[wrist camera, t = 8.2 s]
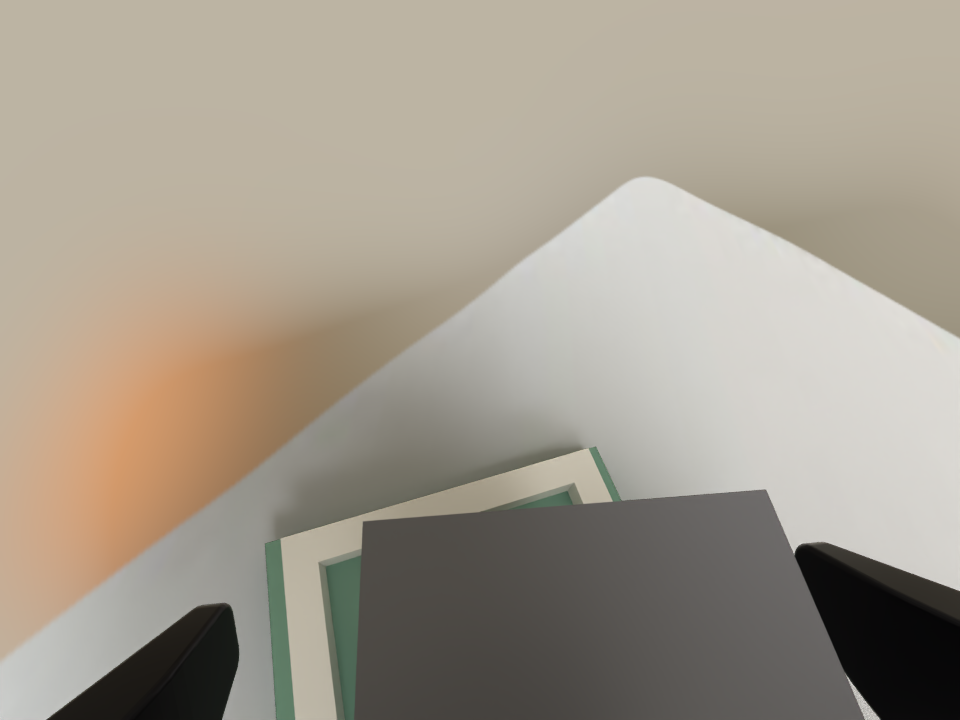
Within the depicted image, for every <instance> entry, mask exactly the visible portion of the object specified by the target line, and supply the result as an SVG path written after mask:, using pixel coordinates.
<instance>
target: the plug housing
mask: <svg viewBox="0 0 960 720" xmlns="http://www.w3.org/2000/svg"><path fill="white" fill-rule="evenodd" d="M354 720H865V719H864V716H863V714H862V712H861V710H860V707H859V705H858V703H857V700H856V698H855V696H854V693H853V691H852V689H851V686H850V684H849V682H848V679H847V677H846V675H845V672H844V670H843V668H842V665H841V663H840V661H839V658H838V656H837V654H836V651H835V649H834V647H833V644H832V642H831V640H830V637H829V635H828V633H827V630H826V628H825V626H824V623H823V621H822V619H821V616H820V614H819V612H818V610H817V607H816V605H815V603H814V600H813V598H812V596H811V593H810V591H809V589H808V586H807V584H806V582H805V579H804V577H803V575H802V572H801V570H800V568H799V565H798V563H797V561H796V558H795V556H794V554H793V551H792V549H791V547H790V544H789V542H788V540H787V537H786V535H785V533H784V530H783V528H782V526H781V523H780V521H779V519H778V516H777V514H776V512H775V510H774V507H773V505H772V503H771V500H770V498H769V496H768V493H767V491H766V490H754V491H741V492H729V493H716V494H703V495H691V496H678V497H665V498H653V499H640V500H627V501H614V502H602V503H589V504H576V505H564V506H551V507H538V508H526V509H513V510H500V511H487V512H475V513H462V514H449V515H437V516H424V517H411V518H399V519H386V520H373V521H363V527H362V550H361V572H360V595H359V618H358V641H357V664H356V687H355V709H354Z"/></svg>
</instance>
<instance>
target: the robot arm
mask: <svg viewBox="0 0 960 720" xmlns="http://www.w3.org/2000/svg"><path fill="white" fill-rule="evenodd" d="M794 556H795V558H796V561H797V563H798V565H799V568H800V570H801V572H802V575H803V577H804V579H805V582H806V584H807V586H808V589H809V591H810V593H811V596H812V598H813V600H814V603H815V605H816V607H817V610H818V612H819V614H820V616H821V619H822V621H823V623H824V626H825V628H826V630H827V633H828V635H829V637H830V640H831V642H832V644H833V647H834V649H835V651H836V654H837V656H838V658H839V661H840V663H841V665H842V668H843V670H844V672H845V674H846V675H847V676H848V678H849V679H850V681H851V682H852V683H853V685H854V686H855V687H856V689H857V690H858V691H859V693H860V694H861V696H862V697H863V698H864V700H865V701H866V702H867V703H868V705H869V706H870V707H871V708H872V710H873V711H874V712H875V713H876V715H877V716H878V717H879V718H880V720H960V591H958V590H955V589H952V588H950V587H947V586H944V585H941V584H939V583H936V582H933V581H930V580H928V579H925V578H922V577H919V576H917V575H914V574H911V573H909V572H906V571H903V570H900V569H898V568H895V567H892V566H889V565H887V564H884V563H881V562H878V561H876V560H873V559H870V558H867V557H865V556H862V555H859V554H857V553H854V552H851V551H848V550H846V549H843V548H840V547H837V546H835V545H832V544H829V543H825V542H815V543H806V544H801V545H799V546H798V547H797V549H796V551H795V555H794ZM238 662H239V645H238V639H237V633H236V627H235V621H234V616H233V611H232V608H231V606H230V605H229V604H227V603H218V604H208V605H201V606H198V607H196V608H194V609H193V610H192V611H190V612H189V613H188V614H186V615H185V616H184V617H182V618H181V619H180V620H178V621H177V622H176V623H174V624H173V625H172V626H170V627H169V628H168V629H166V630H165V631H164V632H162V633H161V634H160V635H158V636H157V637H156V638H154V639H153V640H152V641H150V642H149V643H148V644H146V645H145V646H144V647H142V648H141V649H140V650H138V651H137V652H136V653H134V654H133V655H132V656H130V657H129V658H128V659H126V660H125V661H124V662H122V663H121V664H120V665H118V666H117V667H116V668H114V669H113V670H112V671H110V672H109V673H108V674H106V675H105V676H104V677H102V678H101V679H100V680H98V681H97V682H96V683H94V684H93V685H92V686H90V687H89V688H88V689H86V690H85V691H84V692H82V693H81V694H80V695H78V696H77V697H76V698H74V699H73V700H72V701H70V702H69V703H68V704H66V705H65V706H64V707H63V708H61V709H60V710H59V711H57V712H56V713H55V714H53V715H52V716H51V717H49V718H48V719H47V720H222V717H223V714H224V711H225V707H226V704H227V701H228V697H229V694H230V691H231V687H232V684H233V681H234V677H235V674H236V671H237V667H238Z"/></svg>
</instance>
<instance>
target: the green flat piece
mask: <svg viewBox="0 0 960 720" xmlns="http://www.w3.org/2000/svg"><path fill="white" fill-rule="evenodd" d="M614 501H621V499H620V497H619V494H618V492H617V490H616V488H615V486H614V484H613V482H612V480H611V477H610V475H609V473H608V471H607V469H606V467H605V465H604V463H603V460H602V458H601V456H600V454H599V452H598V450H597V448H596V447H592V448H587V449H583V450H580V451H577V452H573V453H570V454H566V455H563V456H560V457H556V458H553V459H549V460H546V461H542V462H539V463H536V464H532V465H529V466H525V467H522V468H519V469H515V470H512V471H508V472H505V473H502V474H498V475H495V476H491V477H488V478H485V479H481V480H478V481H474V482H471V483H468V484H464V485H461V486H457V487H454V488H451V489H447V490H444V491H440V492H437V493H434V494H430V495H427V496H423V497H420V498H416V499H413V500H410V501H406V502H403V503H399V504H396V505H393V506H389V507H386V508H382V509H379V510H376V511H372V512H369V513H365V514H362V515H359V516H355V517H352V518H348V519H345V520H342V521H338V522H335V523H331V524H328V525H325V526H321V527H318V528H314V529H311V530H307V531H304V532H301V533H297V534H294V535H290V536H287V537H284V538H280V539H279V540H276V541H272V542H269V543H266V544H265V551H266V566H267V582H268V597H269V613H270V628H271V644H272V659H273V675H274V690H275V705H276V720H354V709H355V687H356V664H357V641H358V618H359V595H360V572H361V550H362V527H363V521H373V520H386V519H399V518H411V517H424V516H437V515H449V514H462V513H475V512H487V511H500V510H513V509H526V508H538V507H551V506H564V505H576V504H589V503H602V502H614Z"/></svg>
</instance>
